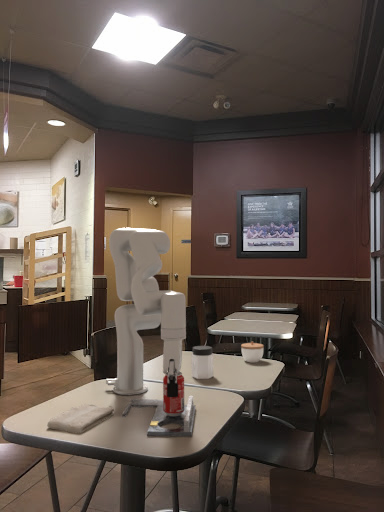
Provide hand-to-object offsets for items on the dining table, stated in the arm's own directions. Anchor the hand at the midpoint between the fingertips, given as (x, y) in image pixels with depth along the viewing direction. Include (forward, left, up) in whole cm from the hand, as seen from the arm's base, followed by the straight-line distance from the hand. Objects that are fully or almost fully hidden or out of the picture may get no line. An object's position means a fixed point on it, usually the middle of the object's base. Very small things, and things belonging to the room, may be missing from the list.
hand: (173, 392), depth 132 cm
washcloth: (-27, -2, -9) cm, 28 cm away
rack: (0, -2, -8) cm, 8 cm away
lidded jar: (+30, +80, -8) cm, 86 cm away
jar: (+7, +50, -8) cm, 52 cm away
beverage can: (0, 0, -6) cm, 6 cm away
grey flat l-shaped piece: (-10, +9, -8) cm, 16 cm away
